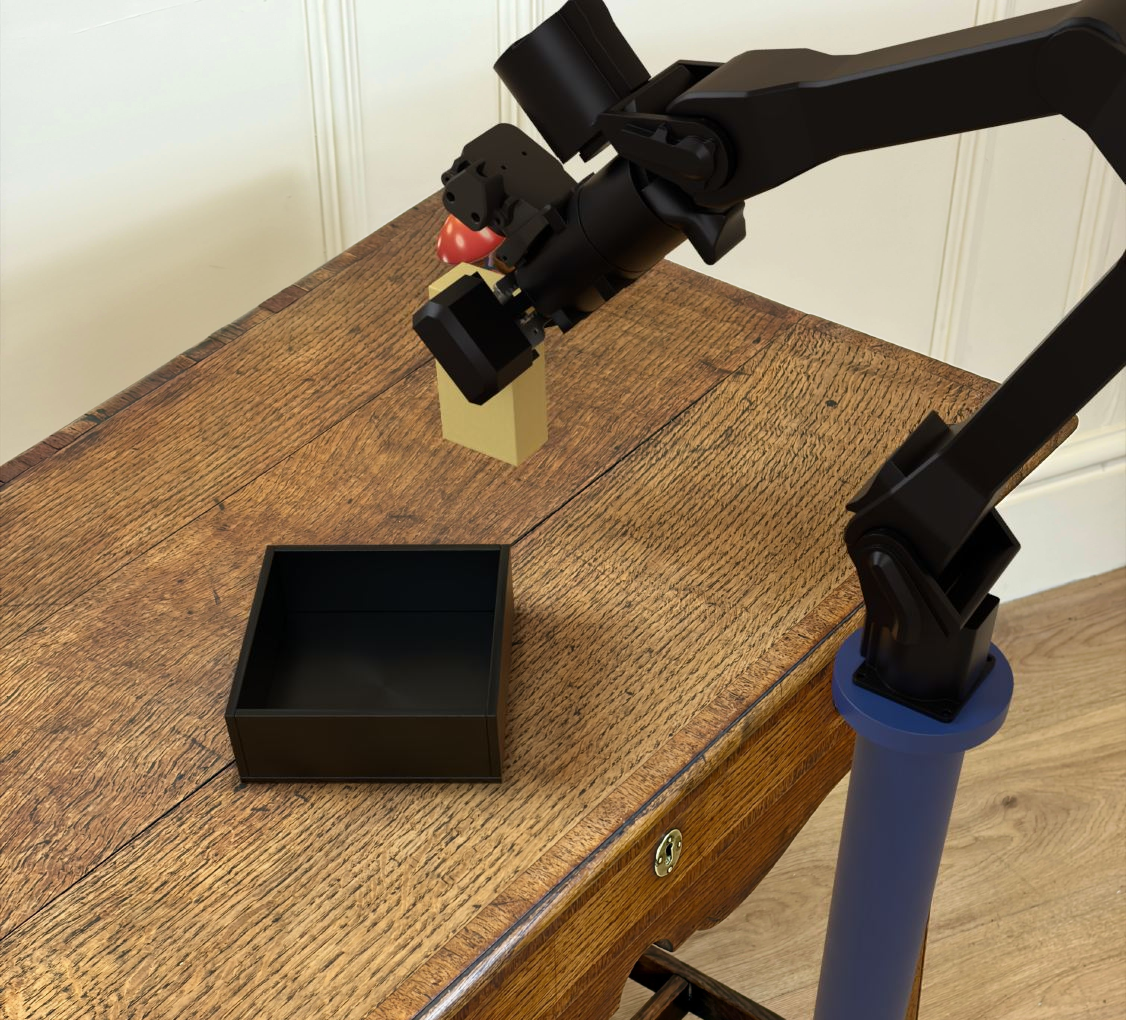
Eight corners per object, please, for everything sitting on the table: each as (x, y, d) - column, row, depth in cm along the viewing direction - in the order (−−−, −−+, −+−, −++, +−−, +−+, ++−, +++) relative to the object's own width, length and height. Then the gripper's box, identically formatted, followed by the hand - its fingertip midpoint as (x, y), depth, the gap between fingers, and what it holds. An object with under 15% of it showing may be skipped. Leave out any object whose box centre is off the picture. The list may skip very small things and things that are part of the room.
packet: (474, 413, 105) (462, 261, 97) (548, 440, 102) (542, 287, 95) (442, 438, 103) (427, 286, 95) (517, 467, 101) (508, 313, 93)
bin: (514, 611, 101) (510, 543, 97) (502, 783, 91) (496, 715, 87) (280, 611, 102) (266, 544, 98) (240, 783, 91) (223, 716, 87)
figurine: (542, 330, 125) (538, 230, 119) (430, 317, 127) (420, 218, 121) (578, 256, 133) (576, 159, 127) (472, 245, 135) (465, 149, 129)
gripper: (624, 37, 90) (480, 176, 102) (424, 166, 79) (290, 304, 92) (737, 201, 92) (584, 318, 105) (558, 348, 82) (411, 459, 94)
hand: (471, 344), depth 99 cm, fingers closed on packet, 3 cm apart
